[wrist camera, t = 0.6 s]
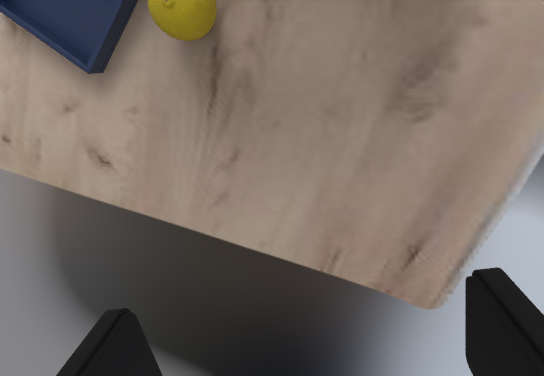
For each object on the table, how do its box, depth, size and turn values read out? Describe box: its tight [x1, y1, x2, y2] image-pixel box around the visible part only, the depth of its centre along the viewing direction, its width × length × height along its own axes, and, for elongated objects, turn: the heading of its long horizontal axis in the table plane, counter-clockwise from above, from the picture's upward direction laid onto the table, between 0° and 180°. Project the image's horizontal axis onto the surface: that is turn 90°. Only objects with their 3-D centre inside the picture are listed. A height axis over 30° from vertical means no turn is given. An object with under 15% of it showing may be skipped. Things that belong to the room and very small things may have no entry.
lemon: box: [148, 0, 217, 41], centre depth 29 cm, size 6×6×8 cm
